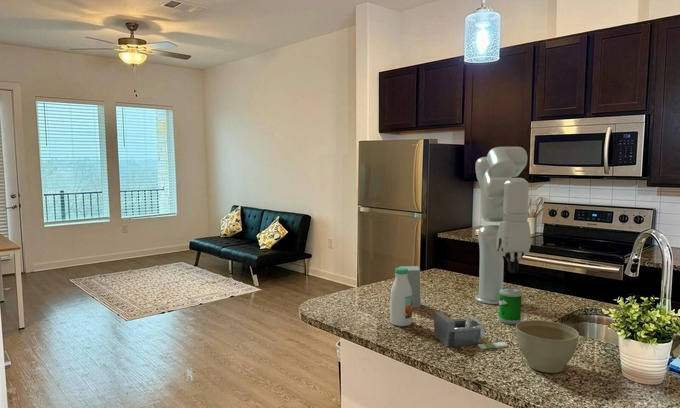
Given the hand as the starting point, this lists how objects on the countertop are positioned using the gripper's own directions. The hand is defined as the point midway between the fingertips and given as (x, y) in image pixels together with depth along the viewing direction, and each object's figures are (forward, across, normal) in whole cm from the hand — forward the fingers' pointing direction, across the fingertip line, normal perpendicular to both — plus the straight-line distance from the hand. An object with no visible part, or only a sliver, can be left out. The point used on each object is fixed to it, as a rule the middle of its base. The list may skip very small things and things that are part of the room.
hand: (512, 272), depth 152 cm
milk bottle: (+22, +32, -18) cm, 43 cm away
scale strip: (+21, +11, +8) cm, 25 cm away
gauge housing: (+21, +20, +1) cm, 29 cm away
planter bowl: (+21, +4, +24) cm, 32 cm away
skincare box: (+22, +22, -36) cm, 48 cm away
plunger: (+21, +18, +3) cm, 27 cm away
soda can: (+22, -7, -11) cm, 25 cm away
